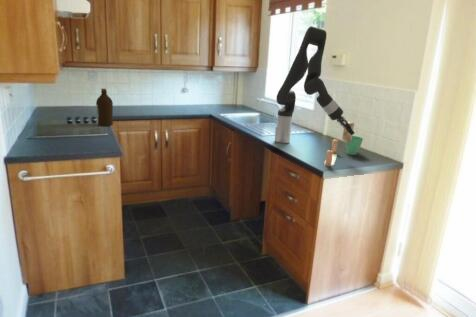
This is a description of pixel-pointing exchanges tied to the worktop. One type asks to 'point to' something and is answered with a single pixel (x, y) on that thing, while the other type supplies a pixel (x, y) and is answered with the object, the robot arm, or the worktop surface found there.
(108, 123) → the olive oil
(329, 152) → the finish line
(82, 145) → the worktop surface
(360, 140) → the mug
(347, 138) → the brown upright block
